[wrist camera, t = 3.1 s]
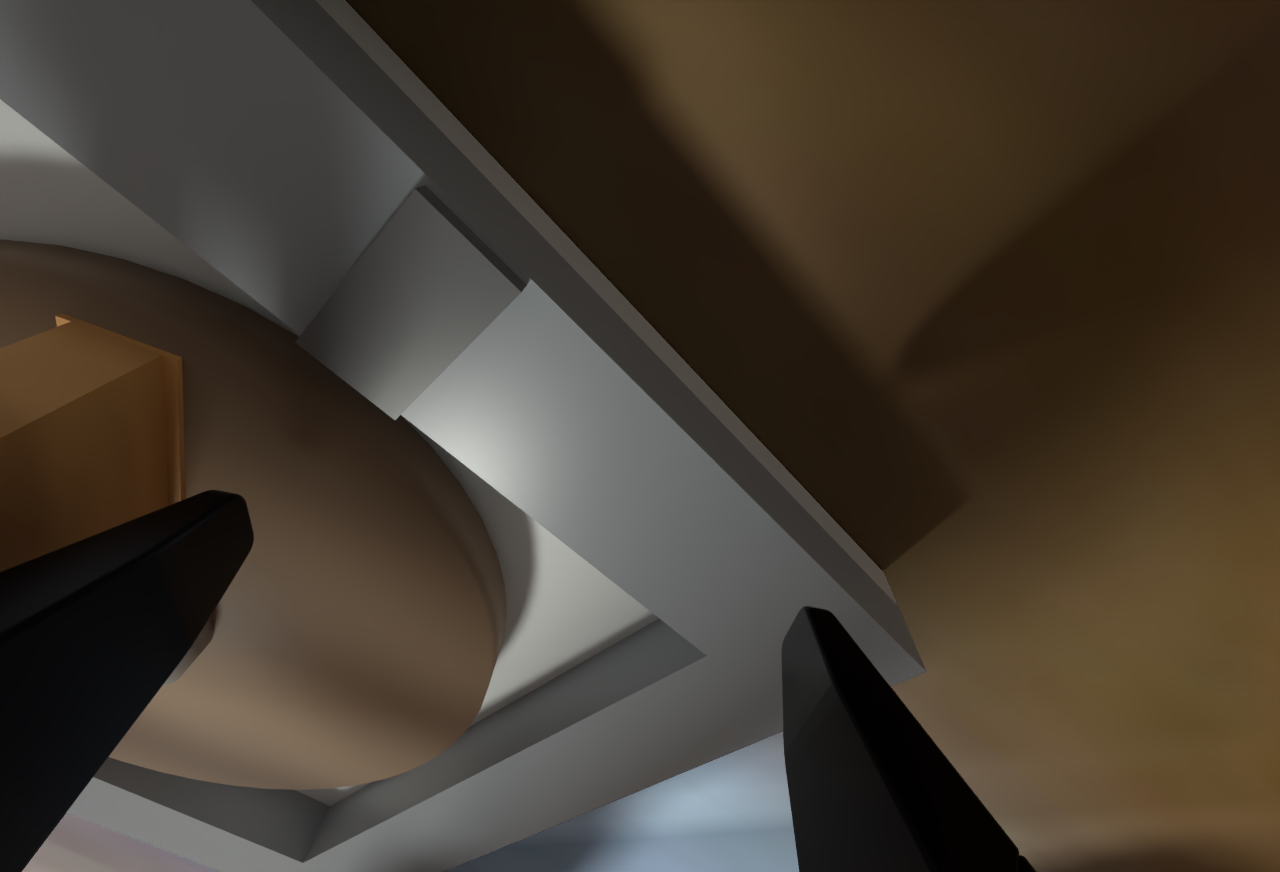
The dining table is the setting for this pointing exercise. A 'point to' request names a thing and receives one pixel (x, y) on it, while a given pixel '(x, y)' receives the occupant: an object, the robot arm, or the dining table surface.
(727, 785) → the dining table surface
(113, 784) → the dial plate
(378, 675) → the dial
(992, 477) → the dining table surface
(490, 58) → the dining table surface
